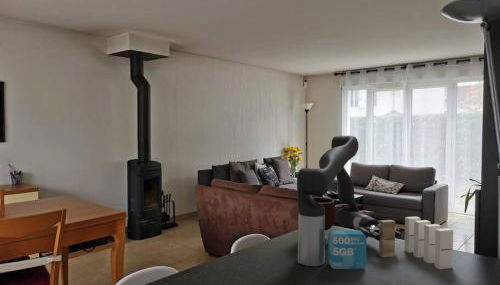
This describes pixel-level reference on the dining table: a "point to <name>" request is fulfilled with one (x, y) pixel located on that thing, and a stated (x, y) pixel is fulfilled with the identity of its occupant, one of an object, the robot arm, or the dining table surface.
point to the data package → (346, 249)
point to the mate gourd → (327, 212)
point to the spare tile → (387, 238)
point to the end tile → (443, 248)
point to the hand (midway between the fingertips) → (389, 236)
